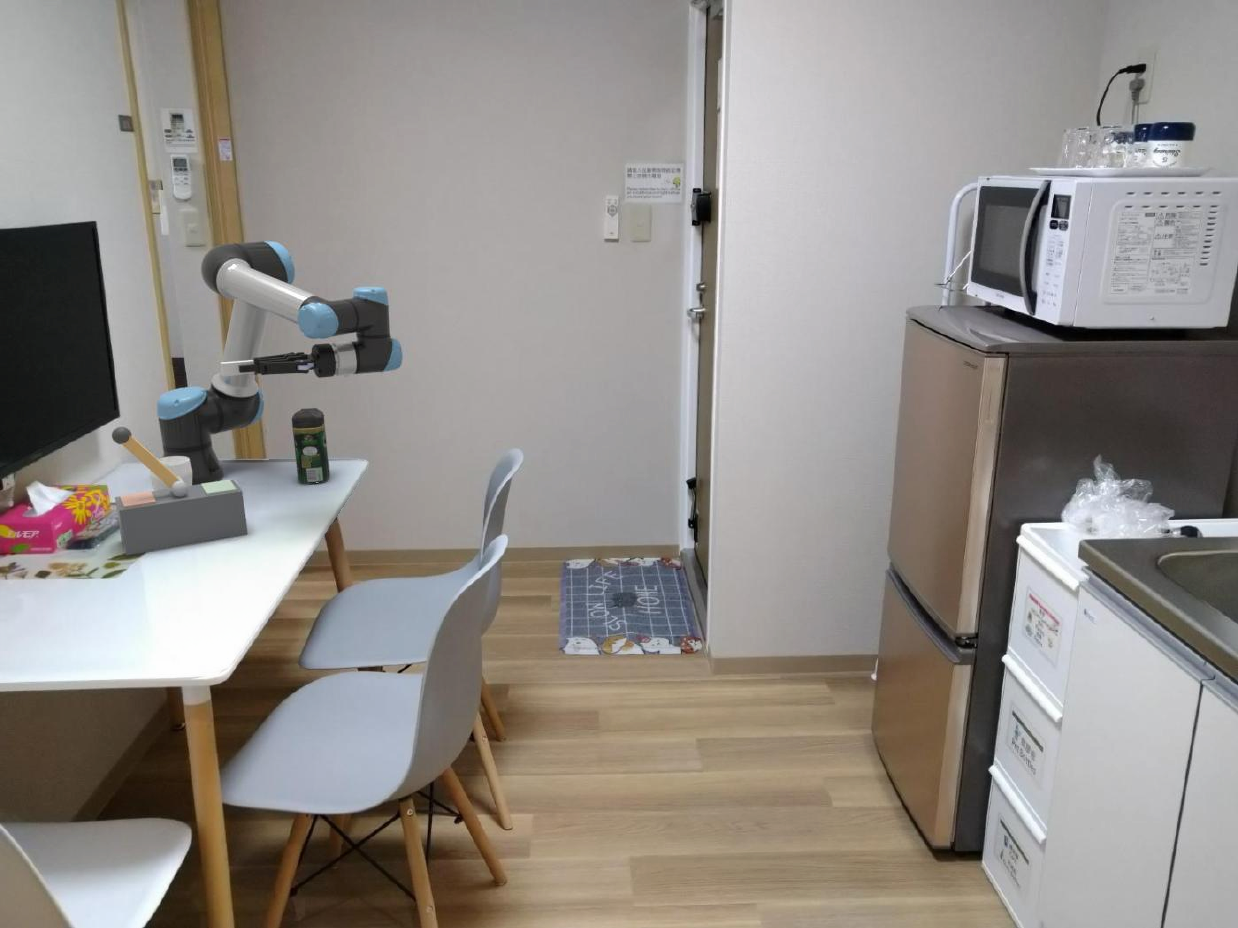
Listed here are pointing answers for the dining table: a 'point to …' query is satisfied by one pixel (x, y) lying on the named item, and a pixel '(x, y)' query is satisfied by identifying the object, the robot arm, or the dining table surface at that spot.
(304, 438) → the coffee jar
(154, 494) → the breaker box
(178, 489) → the lever
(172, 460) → the cup
